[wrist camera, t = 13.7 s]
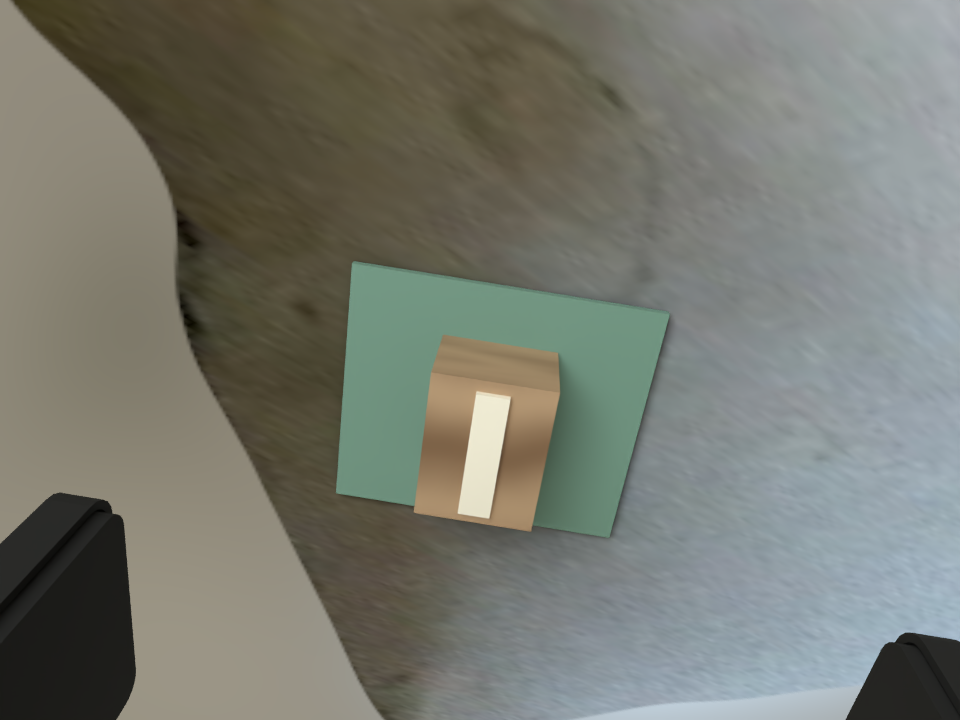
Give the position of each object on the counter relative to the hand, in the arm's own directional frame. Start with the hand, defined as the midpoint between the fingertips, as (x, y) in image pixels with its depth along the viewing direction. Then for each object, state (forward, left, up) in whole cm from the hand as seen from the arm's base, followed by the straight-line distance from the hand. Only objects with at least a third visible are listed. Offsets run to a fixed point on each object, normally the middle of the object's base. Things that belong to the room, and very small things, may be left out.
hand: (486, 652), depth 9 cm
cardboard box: (0, +12, -28) cm, 30 cm away
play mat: (0, +12, -28) cm, 31 cm away
